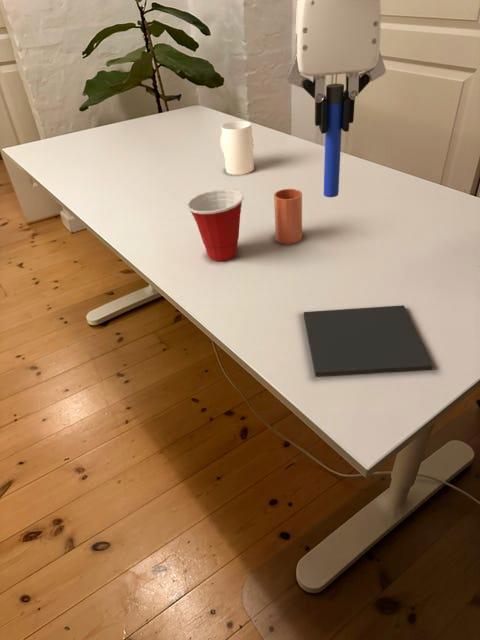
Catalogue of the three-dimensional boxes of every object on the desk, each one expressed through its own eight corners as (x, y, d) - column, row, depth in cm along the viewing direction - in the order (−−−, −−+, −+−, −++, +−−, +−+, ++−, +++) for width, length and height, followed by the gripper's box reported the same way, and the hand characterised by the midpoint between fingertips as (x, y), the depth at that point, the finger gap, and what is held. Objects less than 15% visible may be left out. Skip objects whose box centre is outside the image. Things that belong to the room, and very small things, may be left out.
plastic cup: (208, 238, 99) (201, 184, 92) (256, 244, 95) (252, 188, 88) (185, 264, 91) (175, 207, 84) (235, 272, 87) (229, 213, 80)
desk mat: (403, 309, 74) (403, 305, 74) (432, 369, 63) (433, 365, 63) (303, 315, 75) (303, 311, 75) (315, 376, 64) (315, 372, 64)
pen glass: (300, 230, 98) (300, 187, 93) (303, 242, 94) (303, 198, 88) (274, 232, 99) (273, 189, 93) (276, 244, 94) (275, 200, 89)
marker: (337, 190, 70) (342, 82, 61) (339, 197, 69) (345, 86, 60) (322, 192, 71) (325, 84, 61) (324, 198, 69) (327, 88, 60)
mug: (235, 159, 137) (232, 116, 130) (260, 168, 129) (258, 124, 122) (212, 166, 134) (207, 123, 127) (236, 177, 126) (232, 131, 119)
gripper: (402, -45, 55) (385, 117, 66) (268, -31, 56) (274, 127, 67) (421, -46, 49) (399, 133, 60) (271, -30, 50) (276, 143, 61)
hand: (333, 128), depth 64 cm, fingers closed on marker, 2 cm apart
